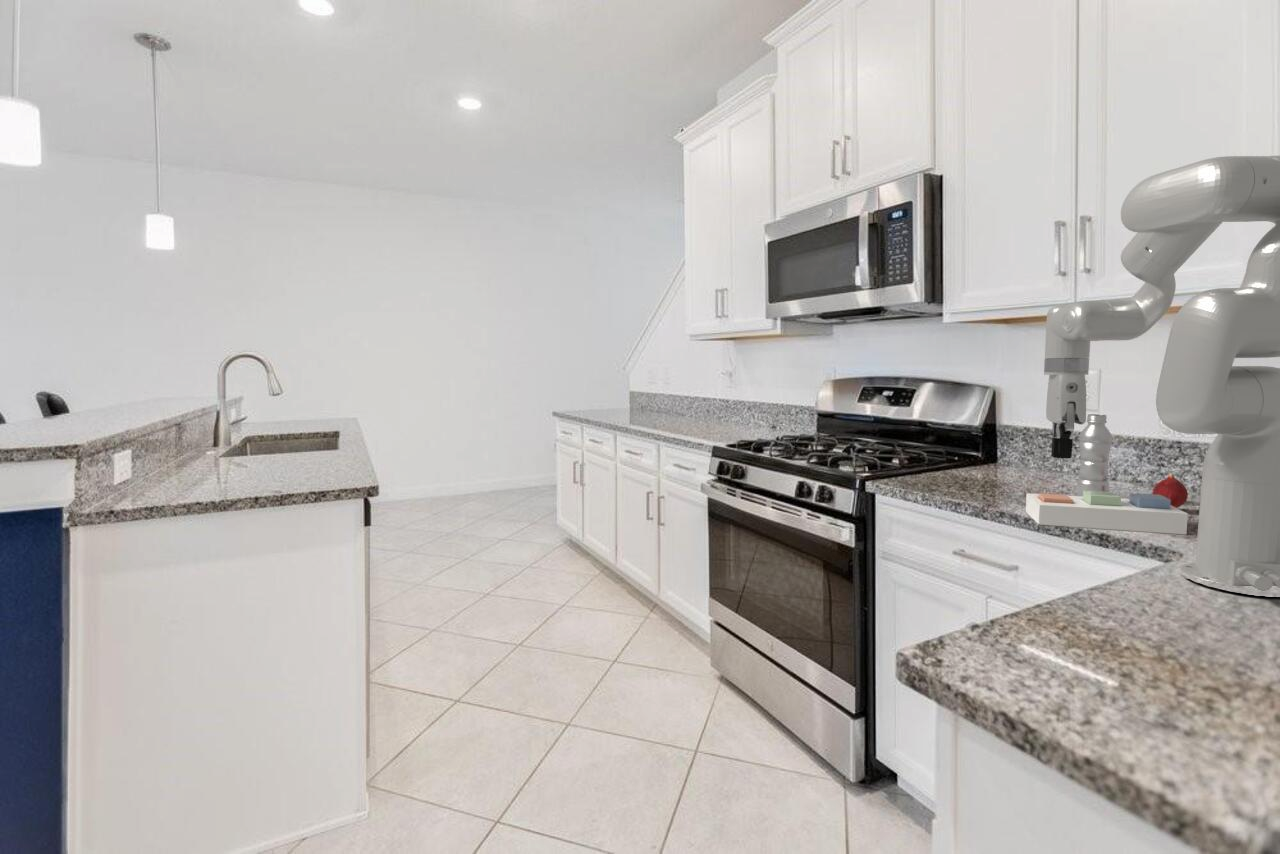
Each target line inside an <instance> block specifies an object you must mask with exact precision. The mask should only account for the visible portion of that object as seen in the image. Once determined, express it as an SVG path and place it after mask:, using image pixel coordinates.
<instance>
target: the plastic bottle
mask: <svg viewBox="0 0 1280 854" xmlns="http://www.w3.org/2000/svg"><path fill="white" fill-rule="evenodd" d="M1107 418H1108V417H1107V414H1099V413H1098V414H1095V413H1094V414H1093V413H1092V414H1089V413H1087V416H1086V423H1087V424H1086V426H1085V427H1084V428H1083V429H1082V431H1081V432H1080V433H1079V436H1078V441H1079V443H1078V444H1079V450H1080V451H1079V453H1080V467H1079V474H1078V478H1077V481H1076V485H1075V491H1076V495H1077V496H1083V491H1095V492H1111V490H1110V482H1109V468H1108V466H1109V459H1110V453H1111V447H1112V442H1113V436H1112V435H1113V434H1111V432H1110V430H1109V429H1108V427H1107V426H1106V424H1107Z"/></svg>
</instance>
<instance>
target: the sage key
mask: <svg viewBox="0 0 1280 854" xmlns="http://www.w3.org/2000/svg"><path fill="white" fill-rule="evenodd" d="M1121 498H1122V497H1121V496H1119V495H1118V494H1116V493H1115V492H1111V491H1109V492H1095V491H1083V501H1084V502H1086V503H1087V504H1089V505H1103V506H1120V505H1121Z"/></svg>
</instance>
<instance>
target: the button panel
mask: <svg viewBox="0 0 1280 854" xmlns="http://www.w3.org/2000/svg"><path fill="white" fill-rule="evenodd" d="M1038 494H1039V493H1027V492H1026V497H1025V498H1026V499H1025V513H1027V514H1028V516H1029V517H1030V518H1031V519H1033V521H1035V523H1037V525H1042V526H1055V527H1056V526H1057V527H1068V528H1083V529H1084V528H1085V529H1098V530H1114V531H1126V532H1127V531H1128V532H1141V533H1142V532H1143V533H1156V534H1158V533H1159V534H1170V535H1172V534H1174V535H1187V529H1188V521H1189V520H1188V517H1189V514H1188V512H1186V511H1183V510H1182V509H1179V508H1175V507H1173V506H1171V505H1170V509H1155V508H1138V507H1136V506H1134V505H1132V504H1130V503H1129V500H1130V498H1122V497H1121V505H1120V506H1103V505H1089V504H1087V503H1086V502H1084V501H1083V496H1078V495H1067V496H1068V497H1070V498H1071V499H1073V504H1068V503H1050V502H1042V501H1041V500H1040V499H1039V498H1038Z"/></svg>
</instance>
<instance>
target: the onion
mask: <svg viewBox="0 0 1280 854" xmlns="http://www.w3.org/2000/svg"><path fill="white" fill-rule="evenodd" d="M1152 494H1154V495H1162V496H1164V497H1166V498H1168V499H1170V500H1171V504H1170V505H1171V506H1173V507H1175V508H1177V509H1179V507H1181V506H1182V505H1184V504H1185V503H1186V502H1187V499H1188V495H1189V493H1188V490H1187V488H1186V487H1185V485H1184V484H1183V483H1182V482H1181V481H1179V480H1177V478H1176V477H1175V475H1174V474H1171V473H1169V474H1168V475H1167V478H1164V479H1162V480H1161V481H1159V482H1157V483H1156V484H1155V486H1154V487H1153V490H1152Z"/></svg>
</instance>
